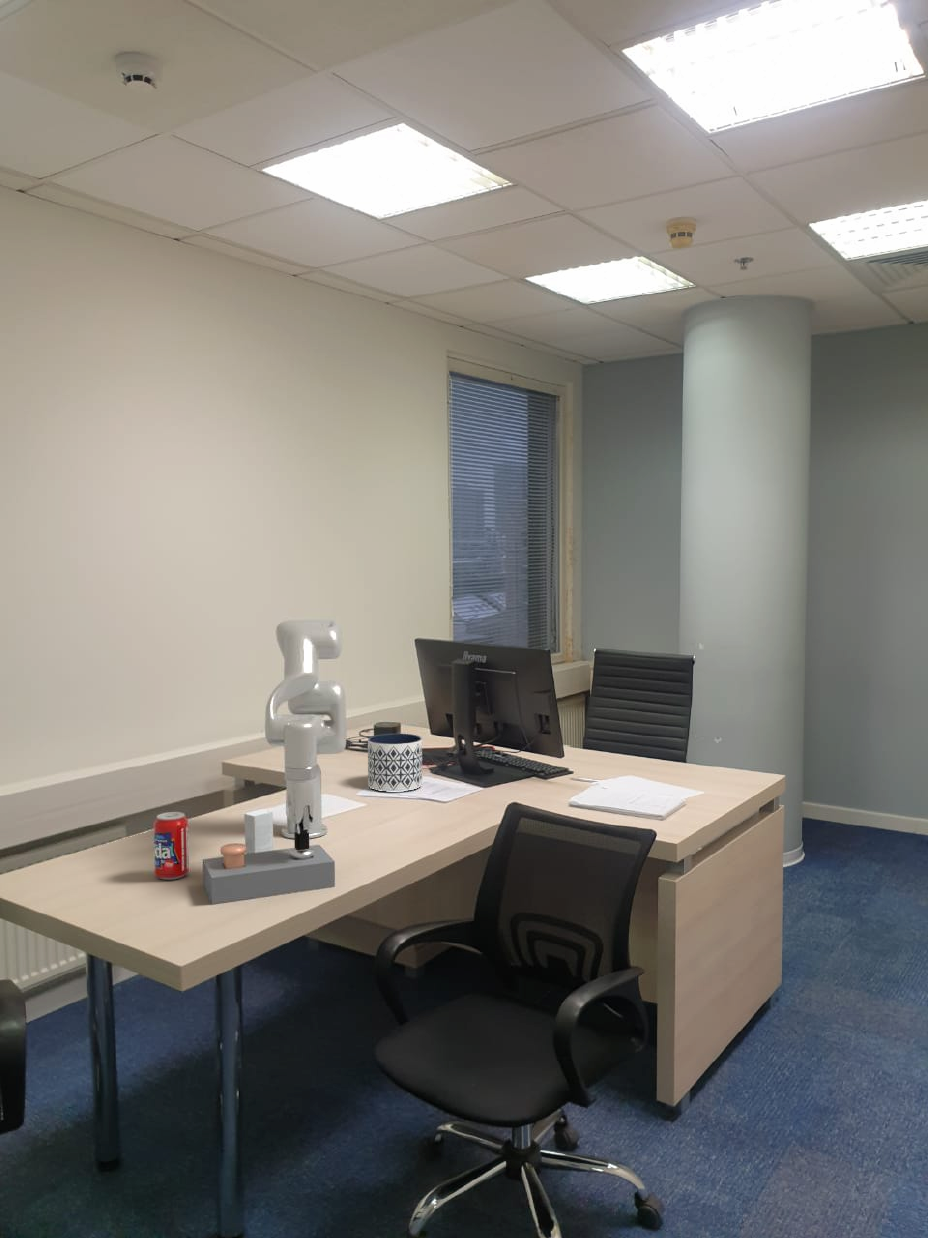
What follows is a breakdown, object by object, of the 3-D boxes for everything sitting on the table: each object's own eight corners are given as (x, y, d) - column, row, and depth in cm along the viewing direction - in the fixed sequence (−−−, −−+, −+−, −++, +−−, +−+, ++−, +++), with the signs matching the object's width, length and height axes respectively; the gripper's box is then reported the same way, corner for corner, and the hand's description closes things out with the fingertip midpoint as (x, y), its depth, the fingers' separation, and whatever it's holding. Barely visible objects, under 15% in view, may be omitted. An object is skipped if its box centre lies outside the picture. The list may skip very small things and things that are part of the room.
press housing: (203, 884, 219) (202, 859, 218) (319, 868, 230) (319, 844, 230) (212, 904, 206) (211, 878, 206) (334, 886, 217) (334, 861, 217)
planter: (416, 794, 303) (415, 744, 302) (361, 792, 306) (361, 743, 304) (427, 781, 321) (426, 734, 320) (375, 779, 323) (375, 732, 322)
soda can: (195, 875, 225) (194, 814, 224) (166, 884, 219) (164, 821, 218) (177, 868, 230) (176, 809, 229) (148, 876, 224) (147, 815, 223)
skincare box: (263, 853, 242) (262, 808, 241) (274, 857, 239) (273, 811, 238) (244, 859, 237) (243, 813, 236) (255, 863, 234) (254, 816, 234)
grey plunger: (287, 874, 223) (287, 849, 222) (310, 871, 225) (310, 846, 225) (293, 881, 218) (293, 855, 217) (316, 878, 220) (316, 852, 219)
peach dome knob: (219, 871, 216) (219, 845, 216) (243, 868, 218) (243, 842, 218) (223, 879, 211) (223, 852, 211) (248, 875, 213) (247, 849, 213)
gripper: (278, 767, 225) (279, 841, 226) (292, 781, 211) (293, 860, 213) (308, 764, 228) (309, 838, 229) (324, 778, 214) (325, 856, 216)
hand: (301, 848), depth 221 cm, fingers closed
